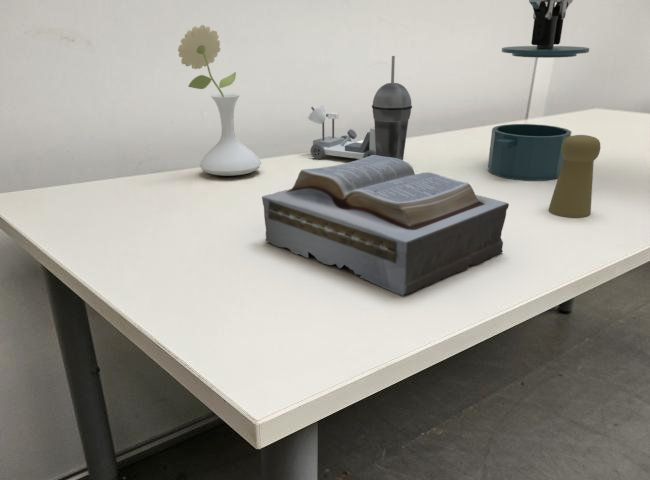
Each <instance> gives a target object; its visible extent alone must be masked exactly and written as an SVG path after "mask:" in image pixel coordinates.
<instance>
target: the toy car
mask: <svg viewBox="0 0 650 480" xmlns="http://www.w3.org/2000/svg"><path fill="white" fill-rule="evenodd" d="M310 109H311V110H312V111H311V112H310V113H309V115H308V116H307V119H308V120H309V121H311V122H313V123H315V124H319V125H322V127H321V128H322V129H321V131H322V132H321V133H322V135H321V136H322V137H321V138H317V139H314V140H312V146H311V147H310V155H311V157H312V158H313V159H315V160H320V159H322V158H323V157H324V156H327V155H328V156H332V157H333V156H334V157H342V158H349V159H356V160H359V159H363V158H366V157H369V156H371V155H376V143H375V126H374V127H370V128H369V131H367V132H366V135H364V136H365V137H364V138H363V139H361V140H358V141H352V140H355V139H356V138H358V137H357V136H358V135H357V133H356V131H355V130H354V129H351V128H350V129H349V130H347V132H346V133H347V135H341V136H340V137H339V136H335V120H338V119H339V118H340V117H339V116H340V115H339V113H337V112H328V113H326V112H325V107H324V105H320V106H318V107H316V108H314V106H311V107H310ZM326 118H327V119H331V133H332V134H331V135H330V136H329V135H328V136H325V121H326Z"/></svg>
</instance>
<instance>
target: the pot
mask: <svg viewBox="0 0 650 480" xmlns="http://www.w3.org/2000/svg"><path fill="white" fill-rule="evenodd" d="M572 133H573V132H572V130H569V129H567V128H565V127H560V126H555V125H548V124H534V123H533V124H532V123H511V124H509V123H508V124H501V125H495V126H494V127H492V129H491V136H490V143H489V144H490V145H489V152H488V159H487V162H488V163H487V171H488V172H489V173H490V174H492V175H494V176H497V177H500V178H505V179H511V180H518V181H532V182H533V181H535V182H536V181H537V182H538V181H539V182H540V181H550V180H551V181H552V180H558V177H559V173H560V170H561V167H562V163H563V160H564V158H563V156H562V152H561V149H562V144H563V142H564V140H565V139H566V138H567V137H569V136H572Z"/></svg>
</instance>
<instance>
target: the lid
mask: <svg viewBox="0 0 650 480" xmlns="http://www.w3.org/2000/svg"><path fill="white" fill-rule="evenodd" d="M550 19H553V24H552V31H551V38H550V44H549V45H521V46H519V45H518V46H505V47H502V48H501V53H504V54H511V56H513V57H519V58H537V59H538V58H542V59H543V58H545V59H546V58H547V59H548V58H551V59H552V58H556V59H557V58H574V57H576V56H577V55H578V54H579V55H580V54H588V53H589V52H590V47H585V46H572V45H571V46H569V45H568V46H567V45H566V46H565V45H554V40H555V33H556V26H557V19H558V16H551V18H550Z"/></svg>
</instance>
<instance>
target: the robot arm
mask: <svg viewBox="0 0 650 480" xmlns="http://www.w3.org/2000/svg"><path fill="white" fill-rule="evenodd" d="M573 1H574V0H528V3H529V4H530V5H531V7H532V10H533V15H532V19H533V25H532V26H533V27H532V35H531V42H530V44H531V46H537V45H549V44H550V38H551V31H552V24H553V19H550V18H551V16H558V19H557V26H556V33H555V40H554V46H558V45H559V44H560V43H561V39H562V32H563V27H564V19H565V18H566V15H567V10H568V7H569V6H570V4H572V3H573ZM546 3H547V4H546Z"/></svg>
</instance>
